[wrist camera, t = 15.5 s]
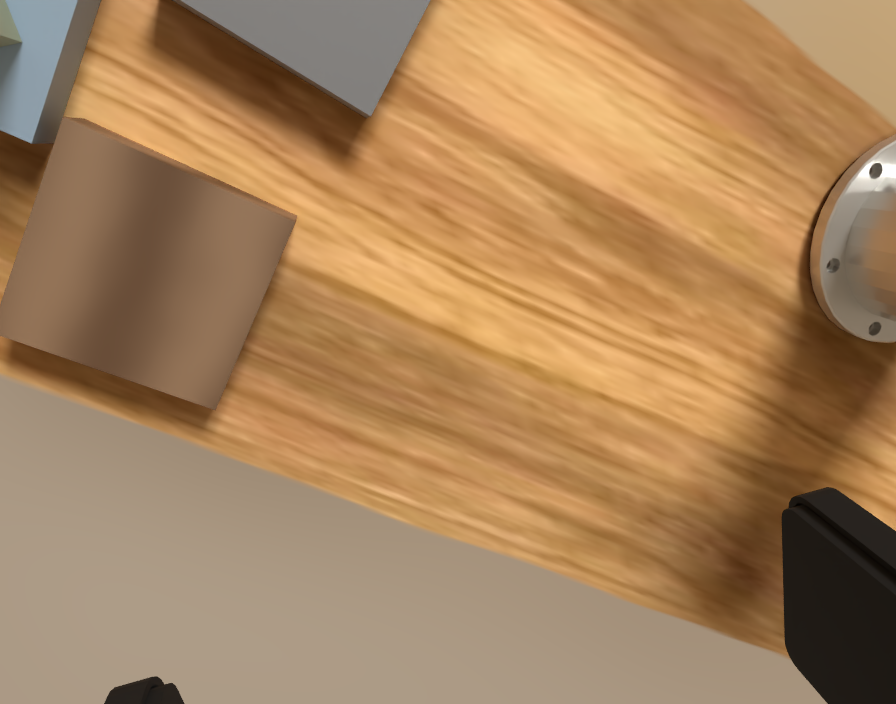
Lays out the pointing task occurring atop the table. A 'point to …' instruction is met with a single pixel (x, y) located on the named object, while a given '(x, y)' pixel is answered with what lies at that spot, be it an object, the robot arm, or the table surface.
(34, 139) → the slate-blue block
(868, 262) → the robot arm
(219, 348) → the walnut block
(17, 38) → the olive brick
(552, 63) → the table surface
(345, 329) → the table surface
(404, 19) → the charcoal block
